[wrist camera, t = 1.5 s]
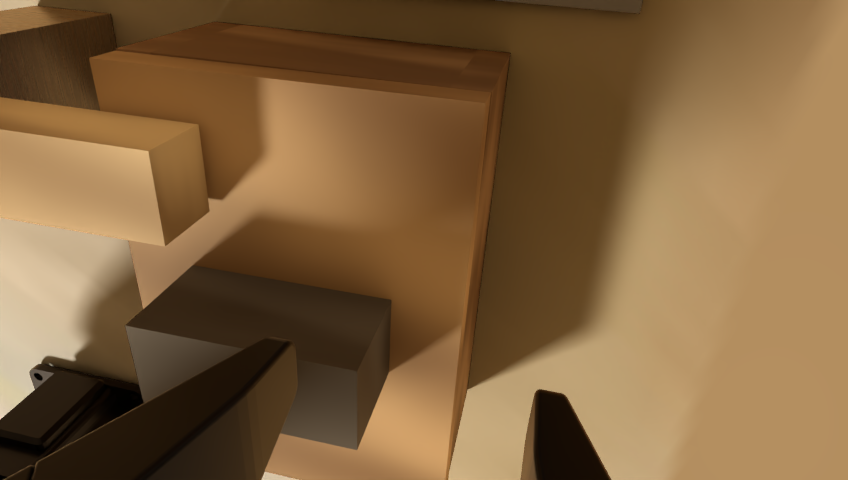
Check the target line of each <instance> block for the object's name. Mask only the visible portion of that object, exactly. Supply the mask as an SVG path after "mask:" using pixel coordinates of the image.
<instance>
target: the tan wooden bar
mask: <svg viewBox="0 0 848 480" xmlns="http://www.w3.org/2000/svg"><path fill="white" fill-rule="evenodd" d="M208 212H210V209H209V202H208V194H207V186H206V178H205V171H204V163H203V155H202V148H201V140H200V132H199V124H192V123H185V122H177V121H170V120H163V119H155V118H148V117H141V116H134V115H126V114H119V113H112V112H104V111H97V110H90V109H82V108H75V107H68V106H61V105H53V104H46V103H39V102H31V101H24V100H17V99H9V98H2V97H0V218H5V219H11V220H16V221H22V222H28V223H34V224H39V225H45V226H51V227H56V228H62V229H68V230H73V231H79V232H85V233H91V234H96V235H102V236H108V237H113V238H119V239H125V240H130V241H136V242H142V243H148V244H153V245H159V246H166V245H168V244H169V243H170V242H172V241H173V240H174V239H175V238H177V237H178V236H179V235H180V234H182V233H183V232H184V231H186V230H187V229H188V228H189V227H191V226H192V225H193V224H194V223H196V222H197V221H198V220H199V219H201V218H202V217H203V216H205V215H206V214H207V213H208Z"/></svg>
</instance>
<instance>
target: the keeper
mask: <svg viewBox="0 0 848 480" xmlns="http://www.w3.org/2000/svg"><path fill="white" fill-rule="evenodd" d="M116 48H117V46H116V41H115V36H114V30H113V25H112V19H111V14H109V13H99V12H90V11H81V10H71V9H62V8H52V7H43V6H31V7H24V8H17V9H11V10H4V11H0V97H2V98H9V99H17V100H24V101H31V102H39V103H46V104H53V105H61V106H68V107H75V108H82V109H90V110H97V111H100V107H99V102H98V98H97V93H96V88H95V84H94V79H93V75H92V70H91V65H90V61H89V58H90V57H94V56H98V55H101V54H105V53H109V52H112V51H116Z"/></svg>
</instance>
